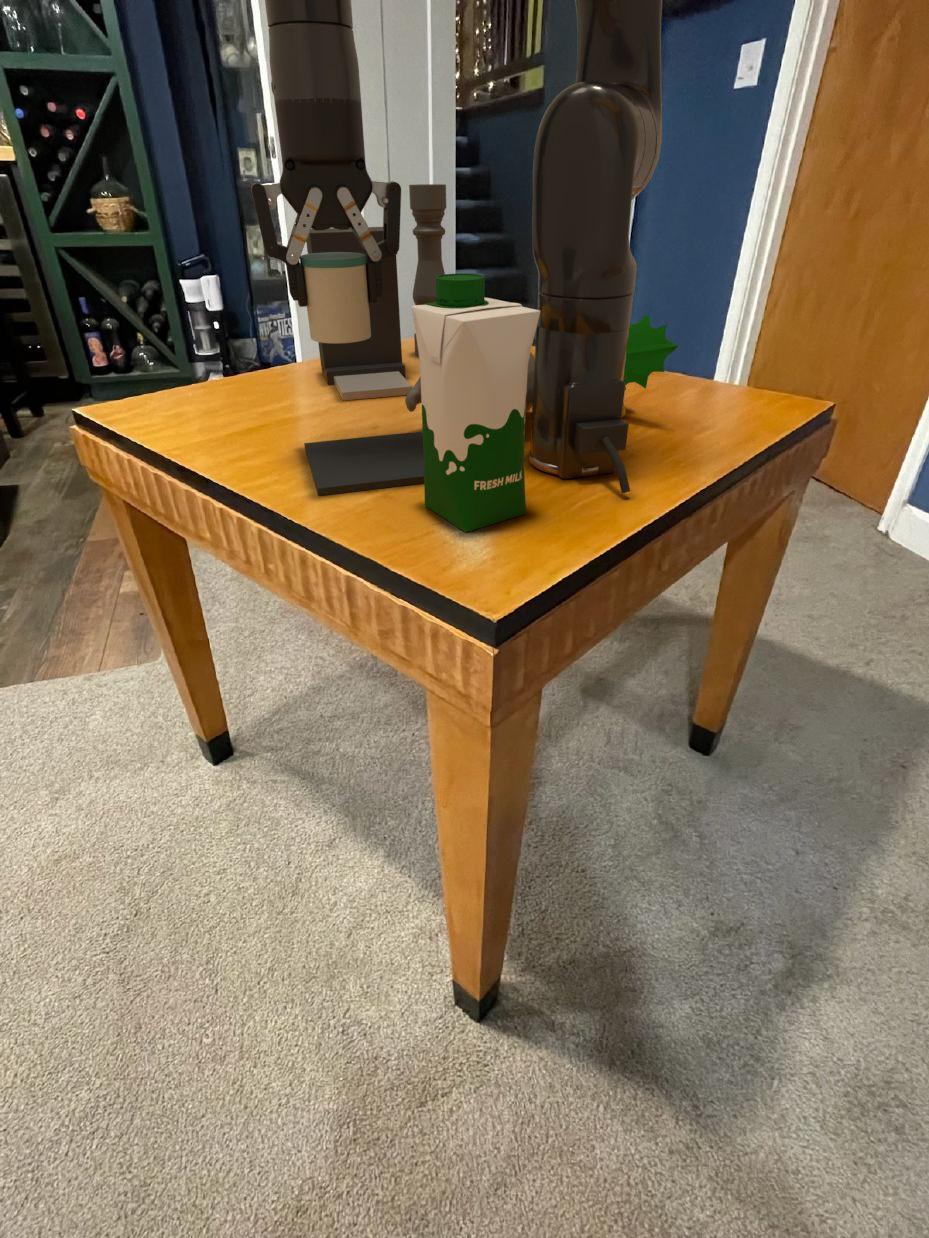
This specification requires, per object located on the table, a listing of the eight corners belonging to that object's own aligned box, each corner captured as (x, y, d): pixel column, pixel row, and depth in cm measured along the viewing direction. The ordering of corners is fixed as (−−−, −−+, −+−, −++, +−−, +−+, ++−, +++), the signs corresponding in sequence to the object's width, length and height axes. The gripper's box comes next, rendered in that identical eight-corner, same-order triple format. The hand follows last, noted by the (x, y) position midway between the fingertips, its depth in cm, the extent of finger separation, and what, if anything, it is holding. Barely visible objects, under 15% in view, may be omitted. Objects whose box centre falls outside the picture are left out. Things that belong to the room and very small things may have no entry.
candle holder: (431, 348, 123) (426, 184, 109) (457, 353, 120) (455, 184, 106) (407, 355, 119) (399, 185, 106) (434, 360, 116) (429, 185, 102)
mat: (452, 479, 72) (452, 472, 72) (318, 496, 69) (317, 488, 68) (421, 437, 83) (421, 431, 83) (305, 449, 80) (304, 443, 80)
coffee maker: (418, 394, 99) (412, 236, 88) (335, 401, 96) (317, 239, 85) (395, 366, 113) (386, 226, 102) (321, 372, 110) (304, 229, 99)
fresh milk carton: (484, 485, 71) (487, 269, 60) (540, 515, 65) (554, 281, 54) (411, 505, 67) (399, 278, 56) (463, 540, 61) (461, 292, 49)
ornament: (643, 452, 92) (710, 345, 84) (614, 451, 86) (684, 336, 78) (535, 376, 100) (587, 272, 93) (501, 370, 94) (554, 258, 86)
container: (377, 341, 69) (371, 258, 65) (313, 345, 68) (302, 260, 64) (366, 329, 74) (360, 251, 70) (307, 332, 73) (296, 253, 69)
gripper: (232, 92, 55) (266, 314, 65) (407, 95, 59) (415, 306, 68) (232, 99, 61) (263, 301, 71) (390, 101, 65) (400, 294, 74)
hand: (337, 303), depth 69 cm, fingers closed on container, 6 cm apart
